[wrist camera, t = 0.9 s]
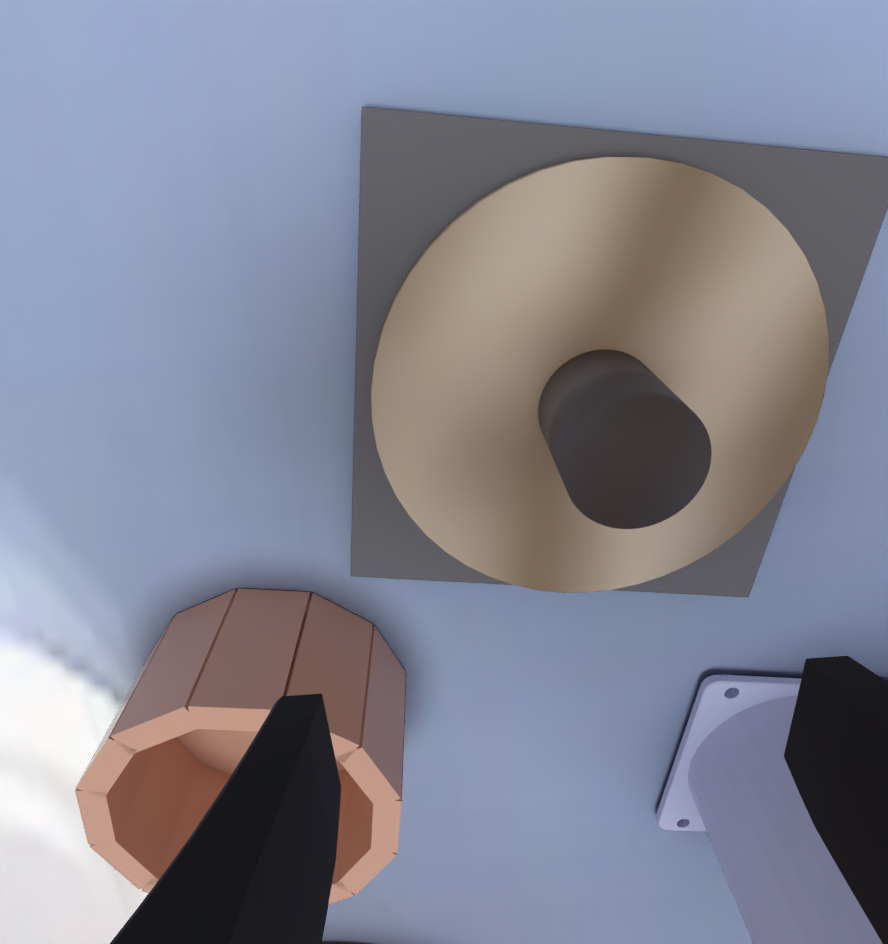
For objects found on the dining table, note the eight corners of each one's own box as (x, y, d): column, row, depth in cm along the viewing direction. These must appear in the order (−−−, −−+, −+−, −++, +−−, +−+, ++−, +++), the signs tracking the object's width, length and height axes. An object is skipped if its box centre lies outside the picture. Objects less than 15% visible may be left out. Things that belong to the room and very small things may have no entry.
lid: (876, 179, 16) (1030, 189, 12) (737, 583, 21) (811, 684, 17) (383, 133, 15) (368, 126, 11) (366, 563, 20) (352, 665, 16)
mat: (893, 159, 16) (905, 159, 16) (742, 590, 22) (748, 597, 21) (363, 108, 15) (362, 106, 15) (351, 568, 21) (350, 576, 21)
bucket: (411, 597, 21) (408, 714, 17) (397, 783, 25) (392, 919, 21) (132, 583, 21) (52, 700, 16) (162, 775, 25) (105, 912, 20)
